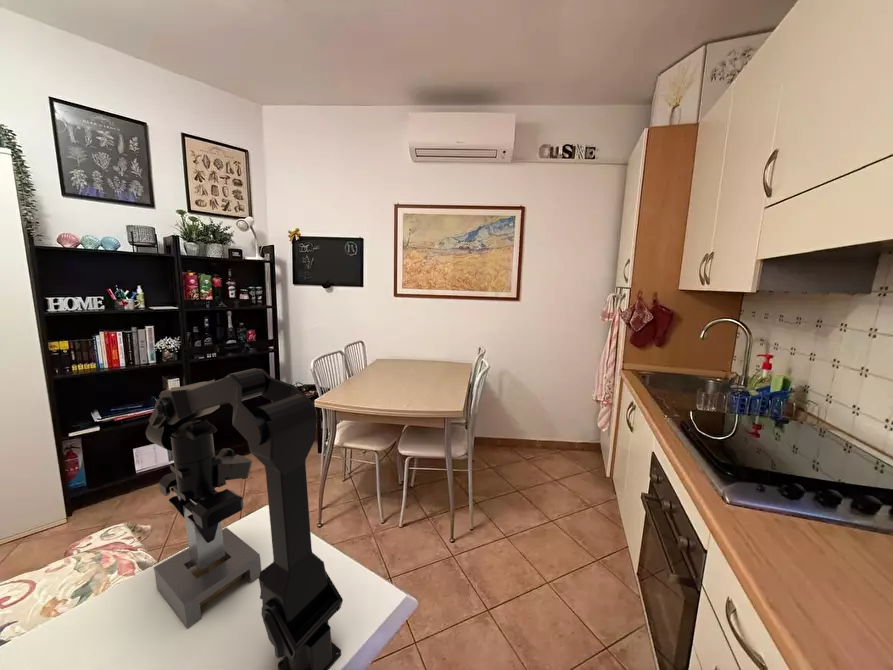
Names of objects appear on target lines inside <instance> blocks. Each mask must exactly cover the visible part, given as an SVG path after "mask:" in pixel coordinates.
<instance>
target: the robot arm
mask: <svg viewBox="0 0 893 670" xmlns="http://www.w3.org/2000/svg"><path fill="white" fill-rule="evenodd" d="M259 396H262V398H264V399H266V400H269V402H267V403H264V404H261V405H258V406H256V407H253V408H252V409H251V410H249V409H248V408H247V407H246V406H245V405H244V404H243V403H242V402H243V401H246V400H249V399H252V398H256V397H259ZM225 404H230V405H231V406H232V424H231V425H232V426H233V427H234V429H236V431H237V432H238V433H239V434H240V435H241V436H242V437H243V438H244V440H246V442H247V445H248V450H249V452H250V453H251V454H252V456H253V457H255V458H256V459H257V460H258V461H259V462H260V463H261V464H262V465H263V466H264V468H265V479H266V480H265V481H266V488H267V501H268V502H267V503H268V512H269V523H270V524H269V525H270V533H271V535H270V536H271V546H272V547H271V548H272V556H273V560H272V563H270V564H269V565H267V566H266V567H265V568H264V569H261V572H260V576H259V578H258V584H259V587H260V595H259V599H260V600H261V602H262V605H261V612H260V614H261V617H262V621H263V625H264V627H265V630H266V634H267V638H268V640H269V642H270V643H271V645H272V646H273V648H274V654H275V655H274V656H275V657H276V658H277V659H280V661H278V663H277V669H278V670H330V669H331V667H332V666H333V664H335V663H336V662H337V661H338V659H339V658H340V657H341V656H342V650H341V649H340V647H338V646H337V645H336V644H335V643H334V642H333V641H332V634H331V633H332V632H331V626H330V625H329V624H330V623H329V621H330V620H331V619H332V617H333V616H334V615H335V614H336V613H337V612H338V611H340V609H341V608H342V605H343V601H344V599H343V597H342V595H341V594H340V592H339V590H338V589H337V587H336V586H335V584H334V581H332V579H331V578H330V576H329V574H328V572H327V571H326V570H327V569H326V567H325V562H324V561H323V560H322V559H321V558H320V557H319V556H318V555H316V554H315V553H314V552H313V549H312V538H311V537H312V535H311V534H312V533H311V523H310V522H311V521H310V520H311V519H310V507H309V493H308V480H307V477H308V476H307V462H306V461H307V457H308V456H309V453H310V452H311V450H312V447H313V445H314V443H315V441H316V438H317V429H318V428H317V426H318V413H317V408H316V405H315V404H314V403H313V402H312V400H311V399H309V397H308V396H306V395H305V394H304V393H303V392H302V391H301V390H300V389H299V388H298V387H297V386H295V385H293V384H291V383H289V382H285V381H283V380H279V379H277V378H274V377H272V376H271V375H270V374H268V373H267V371H266V370H264V369H263V368H250V369H246V370H242V371H238V372H233V373H229V374H227V376H224V377H223V378H220V379H217V380H213V381H201V382H200V381H199V382H196V383H191V384H187V385H183V386H178V387H175V388H170V389H166V390H162V391H161V392H160V393H159V395H158V399H157V400H156V401H155V405H154V408H153V411H152V413H151V415H150V417H149V419H148V421H149V424H148V425H147V427H146V430H145V436H146V439H147V440H148V441H149V442H151V443H153V444H155V445H157V446H158V447H161V448H163V449H165V450H167V451H170V452H171V451H172V457H173V463H170V464H169V467H170V470H171V472H170V473H168V474H165V475H163V477H162V478H161V479H160V480H159V482H158V487H159V492H160V493H161V494H162V495H163V496H164V497H167V496H169V495H170V494H171V493H173V496H172V497H170V498H169V499H168V502H169V503H170V504H171V505H172V506H173V508H174V509H175V510H176V511H177V512H178V514H179V515H181V517H182V518H183V519H184V520H185V517H184V510H183V505H185V504H187V503H190V502H193V503H194V504H195V505H196V506H195V507H194V509H193V510H192V514H191V515H189V516H187V517H188V519H189V520H190V521H191V523H192V524H193V525H194V527H195V528H196V529H197V531H198V532H199V533H200V534H201V536H202V537H203V538H204V540H205V541H206V542H207V543H209V542H211V541H213V540H214V539H215V535H216V531H217V527H218V523H219V522H221V523H222V522H223V521H224V520H226V519H228V518H230V517H232V516H234V515H235V514H237V513H239V512H241V511H242V510H244V508H245V506H244V498H243V496H241V495H240V494H239V493H237V492H235V491H234V490H231V489H228V488H226V489H224V490H221V491H218V490H216V488H221V487H224V486H225V485H227V481H233V480H239V479H240V480H241V479H242V480H246V479H248V478H249V474H250V471H251V467H252V464H253V460H251V459H250V458H248V457H246V456H244V455H239V454H236V453H235V450H233V449H232V448H230V447H229V448H222V449H220V451H219V452H218V454H216V452H215V444H214V435H213V434H215V433H216V432H217V431H218V429H217V428H216V427H215V425H213V424H211V423H210V422H209V421H208V420H207V419H206V418H205V419H202V420H199V419H196V418H200V417H202V416H205V415H210V414H212V413H213V412H215V411H216V410H218V409H219V408H220V407H221V405H225ZM281 658H282V659H281Z"/></svg>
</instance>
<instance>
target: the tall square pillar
mask: <svg viewBox="0 0 893 670" xmlns="http://www.w3.org/2000/svg"><path fill="white" fill-rule="evenodd" d="M195 506H196V505H195V504H194V503H193V502H190V503H187V504H185V505H183V510H184V517H185V519H184V524H185V530H186V538H187V546H188V548H189V554H190V561H191V562H192V563H193V564H194V565H195V566H194V567H196V568H198V569H199V570H200V571H201V570H203V569H204V568H206V567H207V566H209V565H211V564H212V563H214V562H216V561H217V560H219V559H220V558H222V557H224V556H225V551H224V543H223V534H222V528H223V527H222V521H221V522H219V523H218V527H217V531H216V535H215V539H214V540H213V541H211V542H209V543H207V542H206V541H205V540H204V538H203V537H202V536H201V534H200V533H199V532H198V531H197V529H196V528H195V527H194V525H193V524H192V523H191V521H190V520H189V519H188V517H187V516H189V515H191V514H192V510H193V509H194V507H195Z"/></svg>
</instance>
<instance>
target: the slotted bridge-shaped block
mask: <svg viewBox="0 0 893 670" xmlns="http://www.w3.org/2000/svg"><path fill="white" fill-rule="evenodd" d="M222 534H223V543H224V551H225V556H224V557H222V558H220V559H219V560H217V561H216V562H214V563H212V564H211V565H209V566H207V567H206V568H204V569H203V570H201V571H200V570H199V569H198V568H197V567H196V566H195V565H194V564H193V563H192V562H191V561H190V554H189V547H188V548H186V549H184V550H183V551H181V552H179V553H177V554H175V555H173V556H172V557H170V558H168V559H166V560H164V561H162V562H161V563H158V564H157V565H156V566H153V571H154V577H155V583H156V590H157V591H158V592H159V594H160V595H161V596H162V598H163V599H164V600H165V601H166V603H167V604H168V605H169V607H170V608H171V610H172V611H173V612H174V613H175V615H176V616H177V617H178V619H179V620H180V622H182V624H183V625H184V627H186V629H189V628H191V627H192V626H193V625H195V624H196V623H197V622H199V621H200V620H202V612H201V606H203V605H204V604H205V603H207V602H209V601H210V600H212V599H214V598H215V597H216V596H218V594H220V593H221V592H224V590H226V589H228V588H229V587H230V586H232V585H233V584H235V583H236V582H238V581H239V580H240V579H242V578H245V579H246V580H247V581H248V582H249V583H250V584H252V583H254V582H255V581H256V580H259V576H260V572H261V571H262V564H261V554H259V552H258V551H256V550H255V549H253V547H251V546H250V545H248V544H247V542H245V541H243V539H241V538H240V537H239V536H237V535H236V534H235V533H234V532H233V531H232V530H230V529H229V528H228V527H224V528H223V529H222ZM193 567H196V568H194V569H193V570H191V571H190V569H191V568H193Z"/></svg>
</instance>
